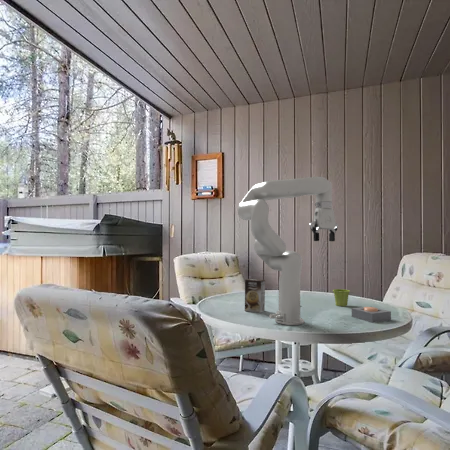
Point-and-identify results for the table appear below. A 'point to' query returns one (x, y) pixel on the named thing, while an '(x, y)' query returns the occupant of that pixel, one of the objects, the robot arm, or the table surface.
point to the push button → (371, 309)
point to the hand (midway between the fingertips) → (324, 241)
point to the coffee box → (255, 295)
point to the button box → (371, 315)
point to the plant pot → (341, 297)
